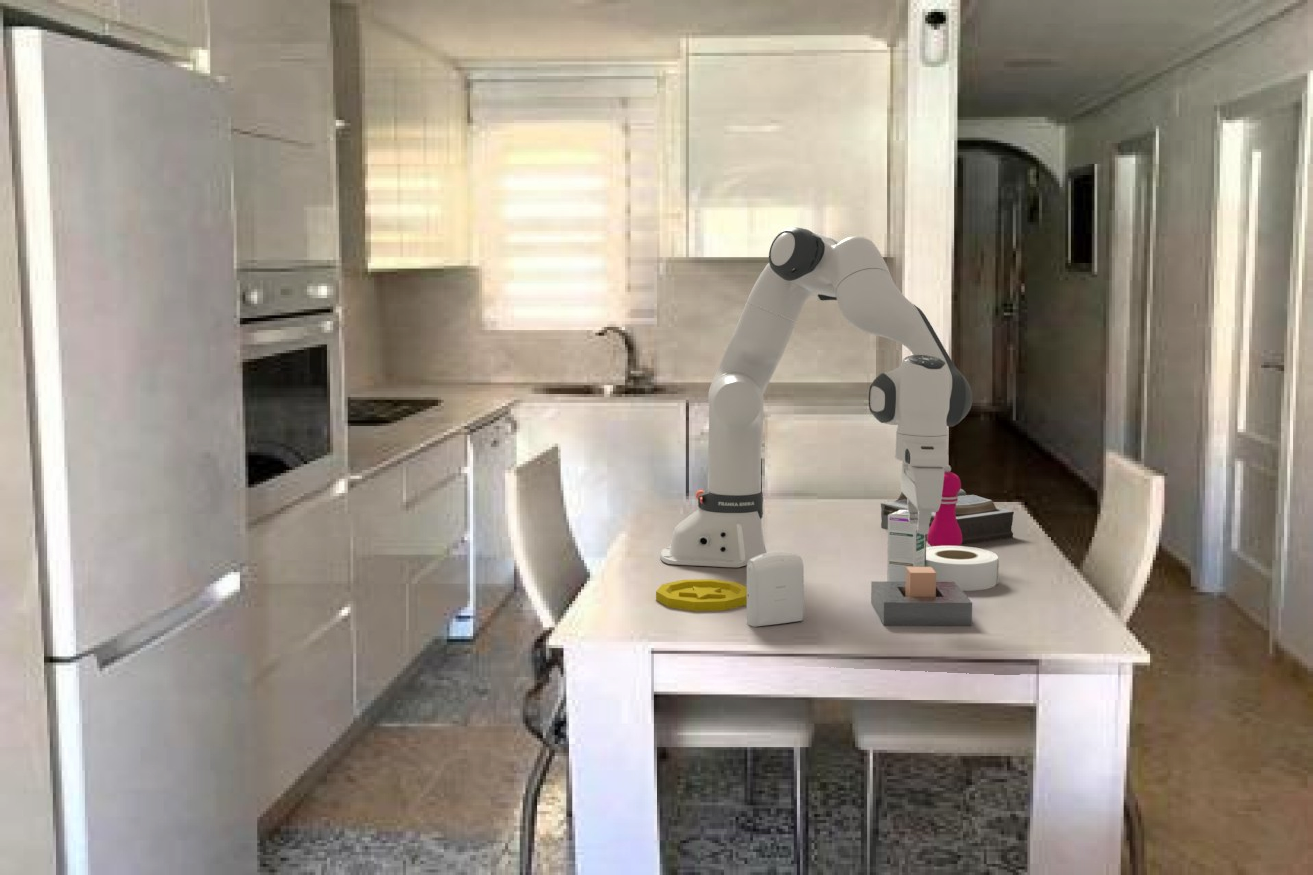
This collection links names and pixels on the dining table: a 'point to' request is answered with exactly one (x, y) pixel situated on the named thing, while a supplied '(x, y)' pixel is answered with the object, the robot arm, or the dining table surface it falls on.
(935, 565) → the roll of tape
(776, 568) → the photo printer
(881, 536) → the dining table surface
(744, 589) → the decorative disc
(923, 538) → the syrup box
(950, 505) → the pepper mill
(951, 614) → the square hole block
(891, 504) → the bible
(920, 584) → the square peg
